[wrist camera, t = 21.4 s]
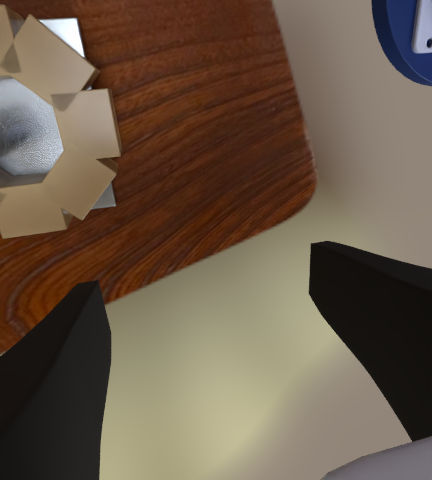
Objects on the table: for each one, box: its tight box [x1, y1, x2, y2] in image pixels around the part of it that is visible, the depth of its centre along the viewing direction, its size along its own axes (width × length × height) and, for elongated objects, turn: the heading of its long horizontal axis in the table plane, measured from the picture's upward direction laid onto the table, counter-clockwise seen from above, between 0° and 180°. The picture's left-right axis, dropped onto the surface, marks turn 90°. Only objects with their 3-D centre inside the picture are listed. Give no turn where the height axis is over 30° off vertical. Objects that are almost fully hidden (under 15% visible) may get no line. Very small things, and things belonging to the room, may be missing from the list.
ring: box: [0, 4, 122, 239], centre depth 16 cm, size 9×9×2 cm
